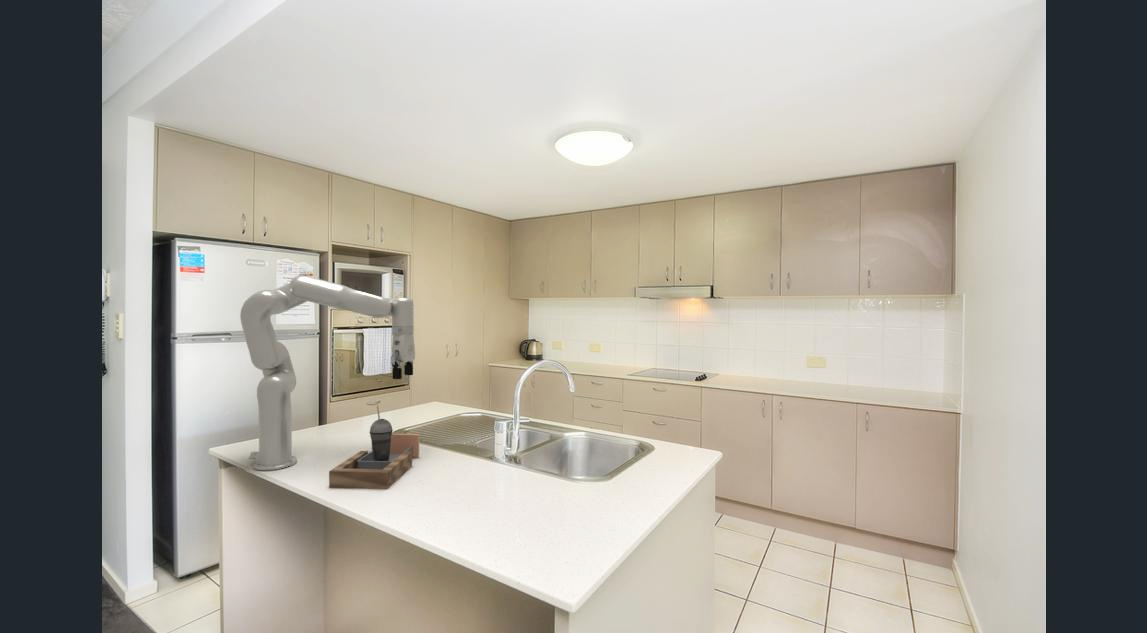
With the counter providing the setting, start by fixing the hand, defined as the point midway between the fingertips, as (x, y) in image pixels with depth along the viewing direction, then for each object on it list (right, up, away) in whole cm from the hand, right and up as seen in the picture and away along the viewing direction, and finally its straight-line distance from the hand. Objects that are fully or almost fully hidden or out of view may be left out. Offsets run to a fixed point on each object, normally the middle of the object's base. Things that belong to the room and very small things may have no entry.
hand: (403, 376), depth 176 cm
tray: (-1, -29, -14) cm, 32 cm away
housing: (-1, -29, -23) cm, 37 cm away
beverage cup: (-1, -28, -17) cm, 33 cm away
